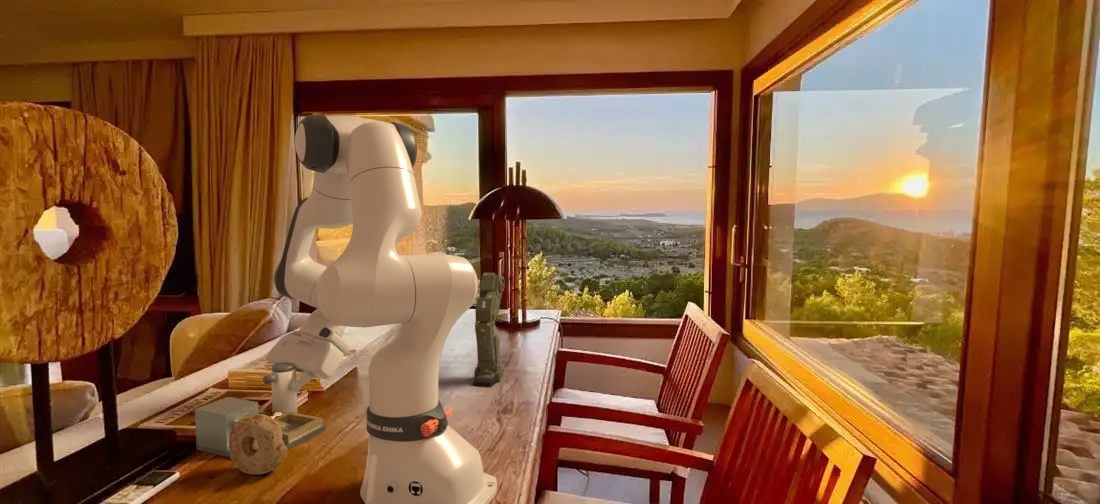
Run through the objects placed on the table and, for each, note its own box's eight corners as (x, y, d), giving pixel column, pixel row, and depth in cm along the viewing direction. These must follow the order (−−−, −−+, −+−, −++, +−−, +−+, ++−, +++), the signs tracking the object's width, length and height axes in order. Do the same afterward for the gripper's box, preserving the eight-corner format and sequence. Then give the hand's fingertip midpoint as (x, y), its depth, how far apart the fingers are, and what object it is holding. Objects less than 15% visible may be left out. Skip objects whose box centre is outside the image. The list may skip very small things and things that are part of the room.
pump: (302, 410, 122) (300, 363, 121) (276, 422, 116) (274, 372, 115) (285, 407, 124) (283, 360, 123) (259, 418, 117) (257, 369, 116)
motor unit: (325, 429, 112) (324, 392, 111) (259, 464, 97) (258, 421, 96) (267, 418, 118) (265, 383, 117) (196, 449, 103) (194, 409, 102)
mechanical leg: (490, 389, 135) (499, 270, 140) (463, 386, 137) (472, 269, 141) (505, 384, 149) (512, 276, 153) (480, 382, 150) (488, 275, 154)
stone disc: (224, 473, 94) (222, 417, 93) (241, 463, 98) (239, 410, 97) (274, 481, 91) (271, 424, 90) (290, 471, 95) (288, 416, 94)
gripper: (282, 322, 130) (244, 372, 123) (338, 333, 120) (301, 388, 113) (299, 337, 135) (263, 386, 127) (355, 348, 124) (320, 402, 117)
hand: (281, 387), depth 120 cm, fingers open, 6 cm apart
